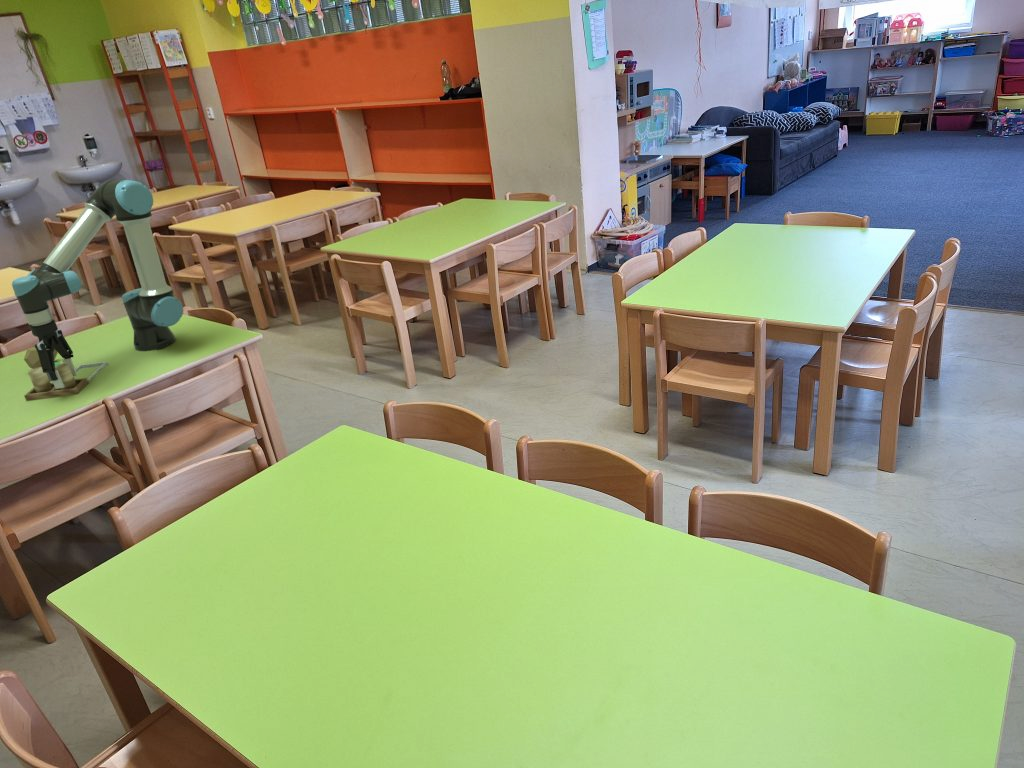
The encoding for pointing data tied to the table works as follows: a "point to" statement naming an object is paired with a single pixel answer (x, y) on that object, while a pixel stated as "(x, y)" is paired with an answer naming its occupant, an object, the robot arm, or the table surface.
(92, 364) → the grey-green angled strip
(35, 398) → the wooden divided tray
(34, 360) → the low-poly potato
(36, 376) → the billet
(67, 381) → the billet
